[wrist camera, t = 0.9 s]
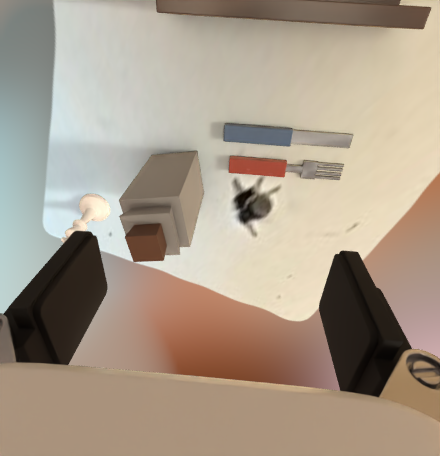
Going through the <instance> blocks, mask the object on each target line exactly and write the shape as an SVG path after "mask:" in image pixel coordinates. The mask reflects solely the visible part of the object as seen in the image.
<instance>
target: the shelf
mask: <svg viewBox="0 0 440 456" xmlns="http://www.w3.org/2000/svg"><path fill="white" fill-rule="evenodd" d="M400 1H401V0H156V7H157V12H158V13H167V14H180V15H195V16H211V17H227V18H243V19H258V20H274V21H290V22H306V23H322V24H337V25H353V26H369V27H385V28H404V29H424V27H425V24H426V21H427V18H428V16H429V13H430V10H431V7H420V6H404V5H399V4H400Z"/></svg>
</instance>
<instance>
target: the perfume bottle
mask: <svg viewBox="0 0 440 456" xmlns="http://www.w3.org/2000/svg"><path fill="white" fill-rule="evenodd" d="M203 195H204V190H203V184H202V178H201V172H200V166H199V159H198V153H197V151H192V152H180V153H169V154H157V155H151V157H150V158H149V159H148V161H147V162H146V163H145V165H144V166H143V168H142V169H141V170H140V172H139V173H138V174H137V176H136V177H135V179H134V180H133V181H132V183H131V184H130V185H129V187H128V188H127V190H126V191H125V192H124V194H123V195H122V196H121V198H120V199H119V202H120V205H121V208H122V211H123V214H122V215H120V216H119V217H120V220H121V223H122V225H123V228H124V231H125V234H126V236H125V239H126V241H127V244H128V247H129V250H130V253H131V255H132V258H133V261H134V262H142V261H164V257H165V255H180V248H179V247H190V245H191V241H192V237H193V233H194V230H195V226H196V222H197V218H198V214H199V210H200V207H201V203H202V199H203Z"/></svg>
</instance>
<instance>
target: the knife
mask: <svg viewBox="0 0 440 456" xmlns="http://www.w3.org/2000/svg"><path fill="white" fill-rule="evenodd" d="M352 138H353V134H343V133H330V132H317V131H304V130H293V129H292V128H283V127H270V126H257V125H244V124H230V123H225V127H224V141H226V142H239V143H252V144H265V145H278V146H290V145H291V144H302V145H314V146H327V147H340V148H350V145H351V141H352Z"/></svg>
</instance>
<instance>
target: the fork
mask: <svg viewBox="0 0 440 456" xmlns="http://www.w3.org/2000/svg"><path fill="white" fill-rule="evenodd" d="M318 165H322V166H334V167H344V164H335V163H323V162H318V161H307V160H304V162H303V166H302V165H289V164H287V161H286V160H277V159H265V158H252V157H240V156H230V162H229V173H239V174H251V175H264V176H276V177H285V172H296V173H301V175H300V178H306V179H314V178H319V179H331V180H340V177H331V176H318V175H315V174H322V175H334V176H341V173H334V172H322V171H316V170H330V171H342V170H343V169H342V168H330V167H317V166H318Z"/></svg>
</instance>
